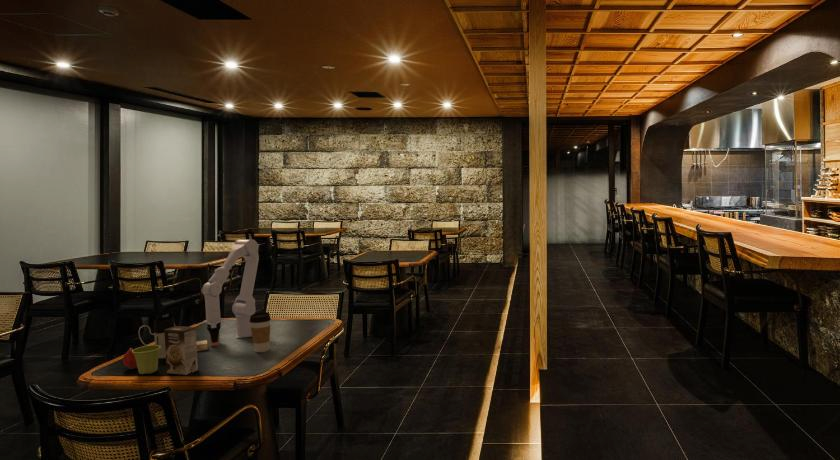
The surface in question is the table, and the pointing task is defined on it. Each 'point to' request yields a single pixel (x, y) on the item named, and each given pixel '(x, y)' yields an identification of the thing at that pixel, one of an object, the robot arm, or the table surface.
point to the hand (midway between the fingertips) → (214, 341)
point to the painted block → (215, 342)
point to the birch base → (202, 345)
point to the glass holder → (160, 333)
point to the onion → (129, 359)
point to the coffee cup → (260, 331)
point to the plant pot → (147, 358)
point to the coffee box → (181, 350)
